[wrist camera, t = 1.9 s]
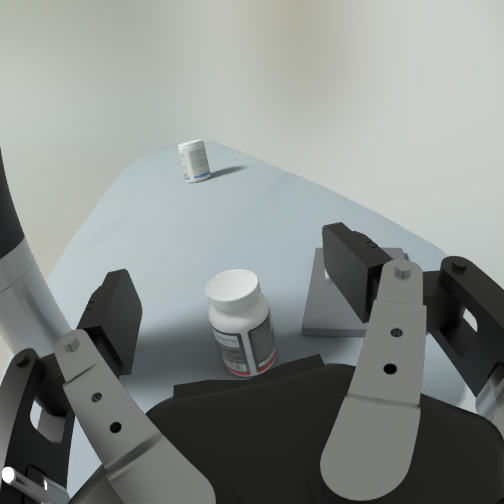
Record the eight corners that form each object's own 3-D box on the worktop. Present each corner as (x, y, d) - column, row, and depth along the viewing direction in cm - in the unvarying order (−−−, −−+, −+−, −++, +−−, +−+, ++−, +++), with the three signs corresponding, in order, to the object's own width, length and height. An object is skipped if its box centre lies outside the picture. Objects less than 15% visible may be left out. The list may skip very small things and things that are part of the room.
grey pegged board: (302, 335, 32) (300, 310, 30) (316, 254, 47) (315, 233, 45) (422, 336, 27) (430, 311, 26) (400, 254, 42) (403, 233, 41)
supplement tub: (214, 174, 109) (207, 137, 102) (206, 181, 101) (198, 141, 94) (191, 177, 111) (183, 142, 104) (181, 185, 103) (173, 146, 96)
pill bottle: (267, 333, 33) (255, 259, 28) (284, 368, 28) (274, 292, 23) (219, 347, 32) (196, 275, 27) (229, 385, 27) (204, 311, 22)
